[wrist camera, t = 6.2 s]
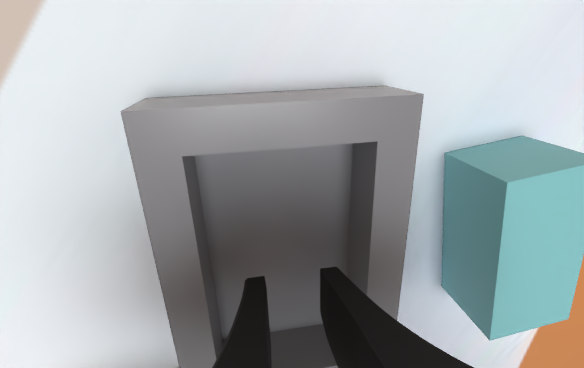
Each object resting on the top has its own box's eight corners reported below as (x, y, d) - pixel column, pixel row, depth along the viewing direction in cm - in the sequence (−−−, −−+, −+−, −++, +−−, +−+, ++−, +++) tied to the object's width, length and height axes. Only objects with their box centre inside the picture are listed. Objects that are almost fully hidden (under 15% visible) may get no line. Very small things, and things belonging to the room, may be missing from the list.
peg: (503, 267, 19) (568, 319, 15) (439, 283, 19) (489, 340, 15) (519, 134, 16) (605, 159, 12) (442, 151, 15) (507, 182, 12)
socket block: (367, 330, 19) (390, 377, 16) (197, 357, 17) (190, 414, 15) (385, 85, 14) (423, 94, 11) (146, 98, 12) (120, 111, 9)
